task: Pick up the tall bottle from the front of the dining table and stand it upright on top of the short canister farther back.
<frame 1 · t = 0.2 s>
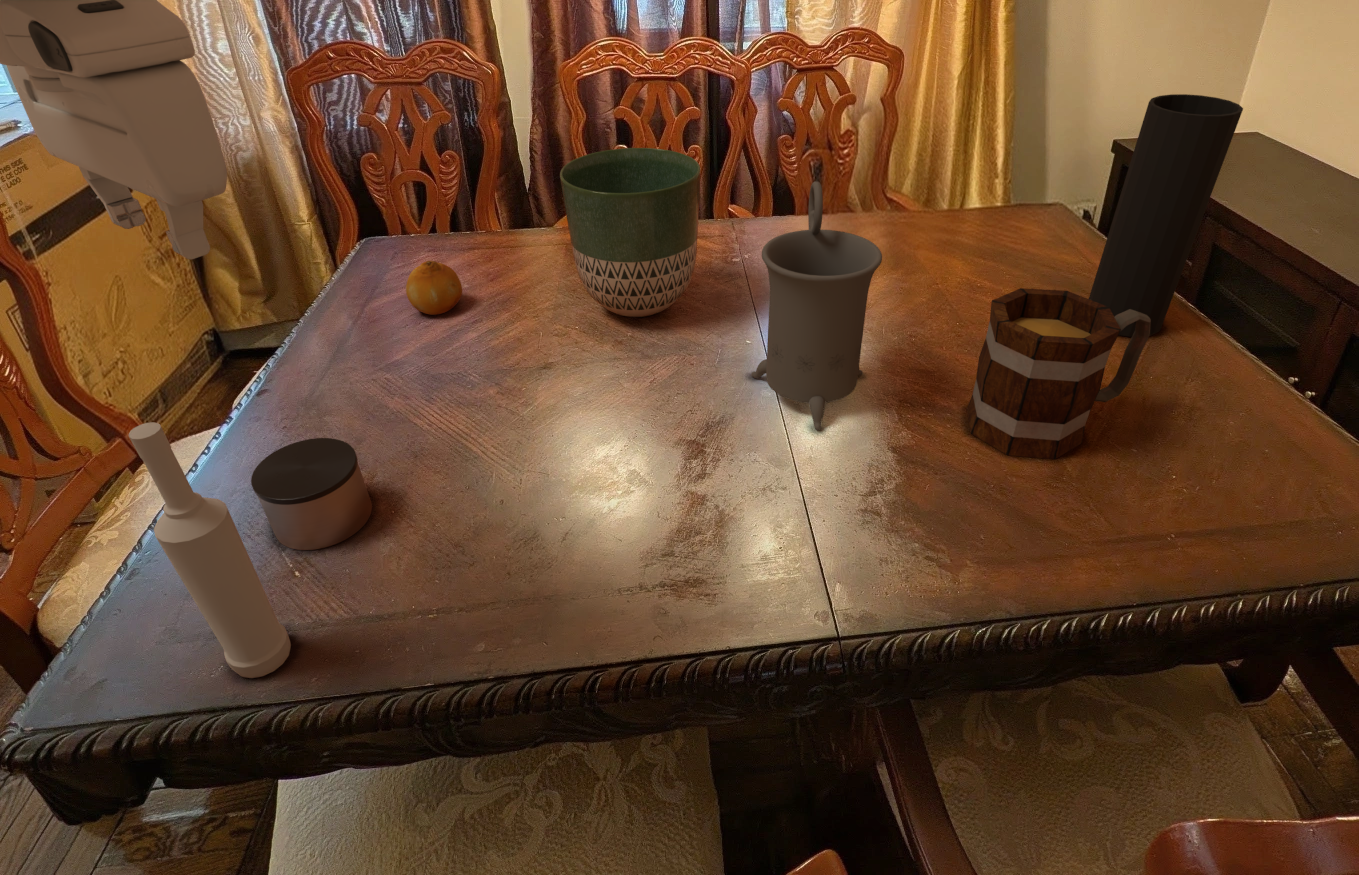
hand: (161, 239, 56), 36 cm above the table, tool pointing down, fingers open, 8 cm apart
fruit: (438, 309, 126), on the table
bottle: (263, 657, 72), on the table
mug: (1045, 423, 97), on the table
canister: (324, 517, 87), on the table
vase: (1121, 321, 117), on the table
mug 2: (809, 390, 104), on the table
planter: (638, 308, 124), on the table
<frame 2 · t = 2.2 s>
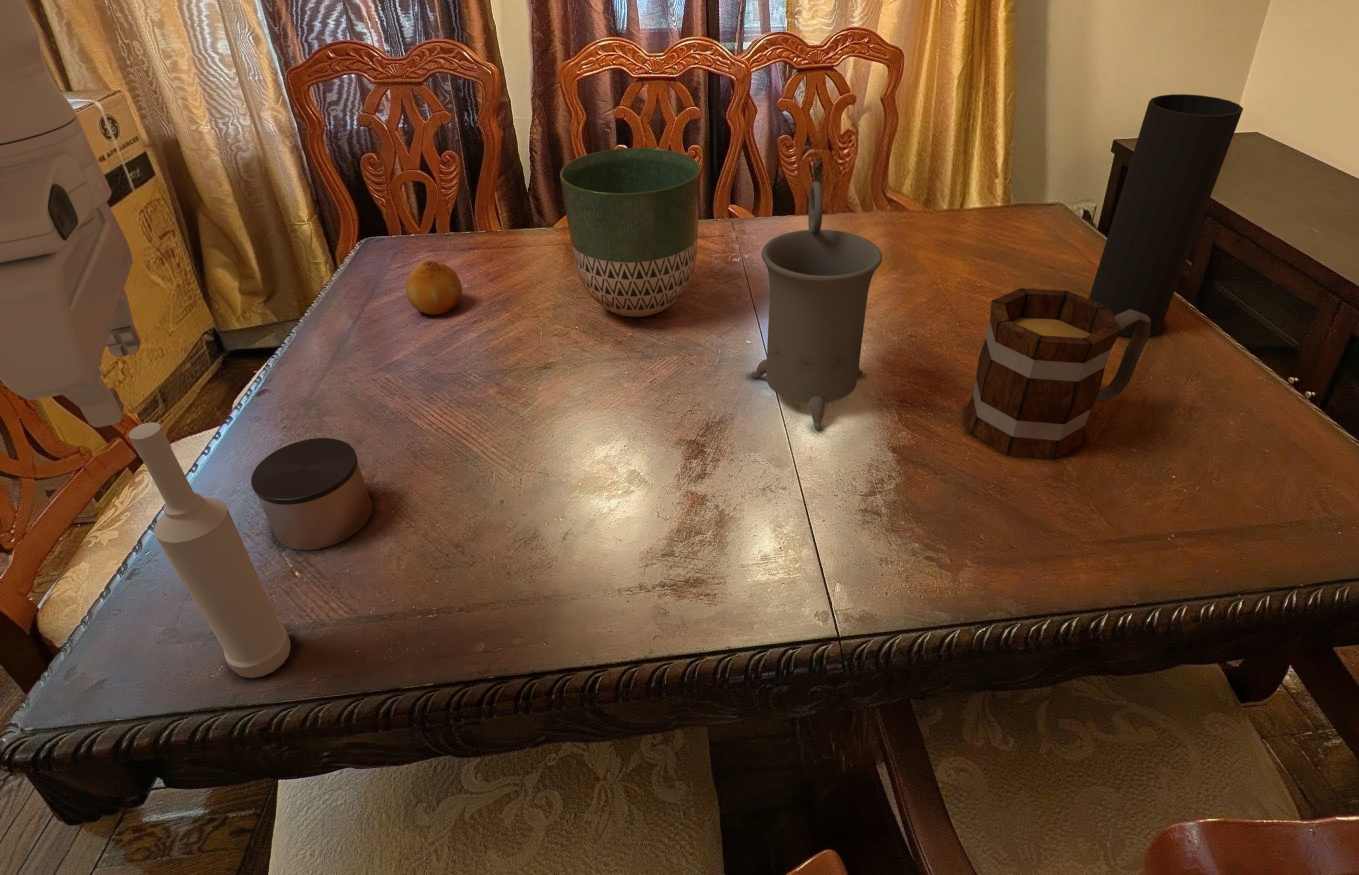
hand: (119, 383, 54), 29 cm above the table, tool pointing down, fingers open, 8 cm apart
nothing on the table moved.
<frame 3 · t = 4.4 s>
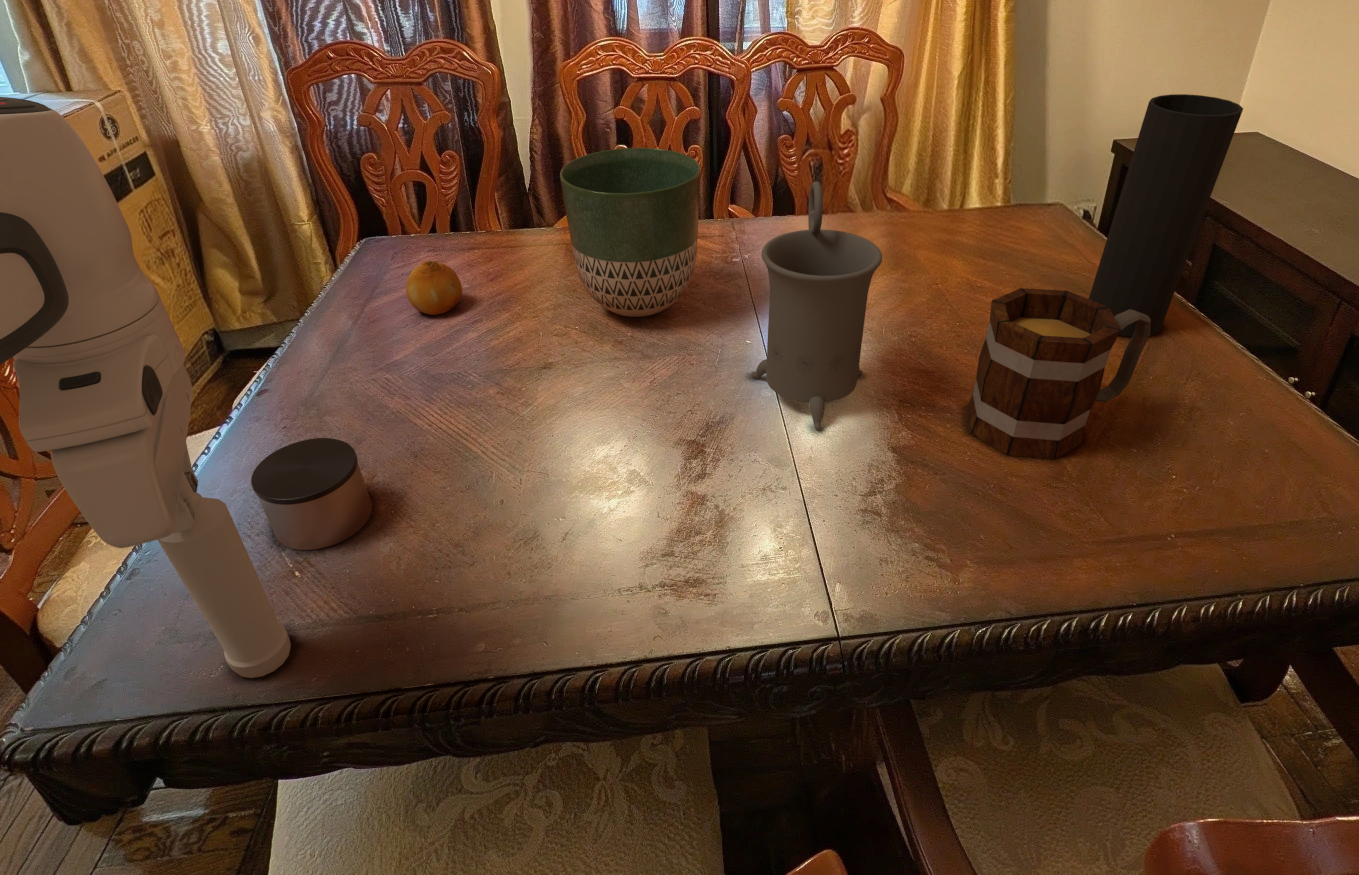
hand: (185, 509, 61), 18 cm above the table, tool pointing down, fingers closed on bottle, 3 cm apart
bottle: (263, 657, 72), on the table, touching gripper
everything else where it was.
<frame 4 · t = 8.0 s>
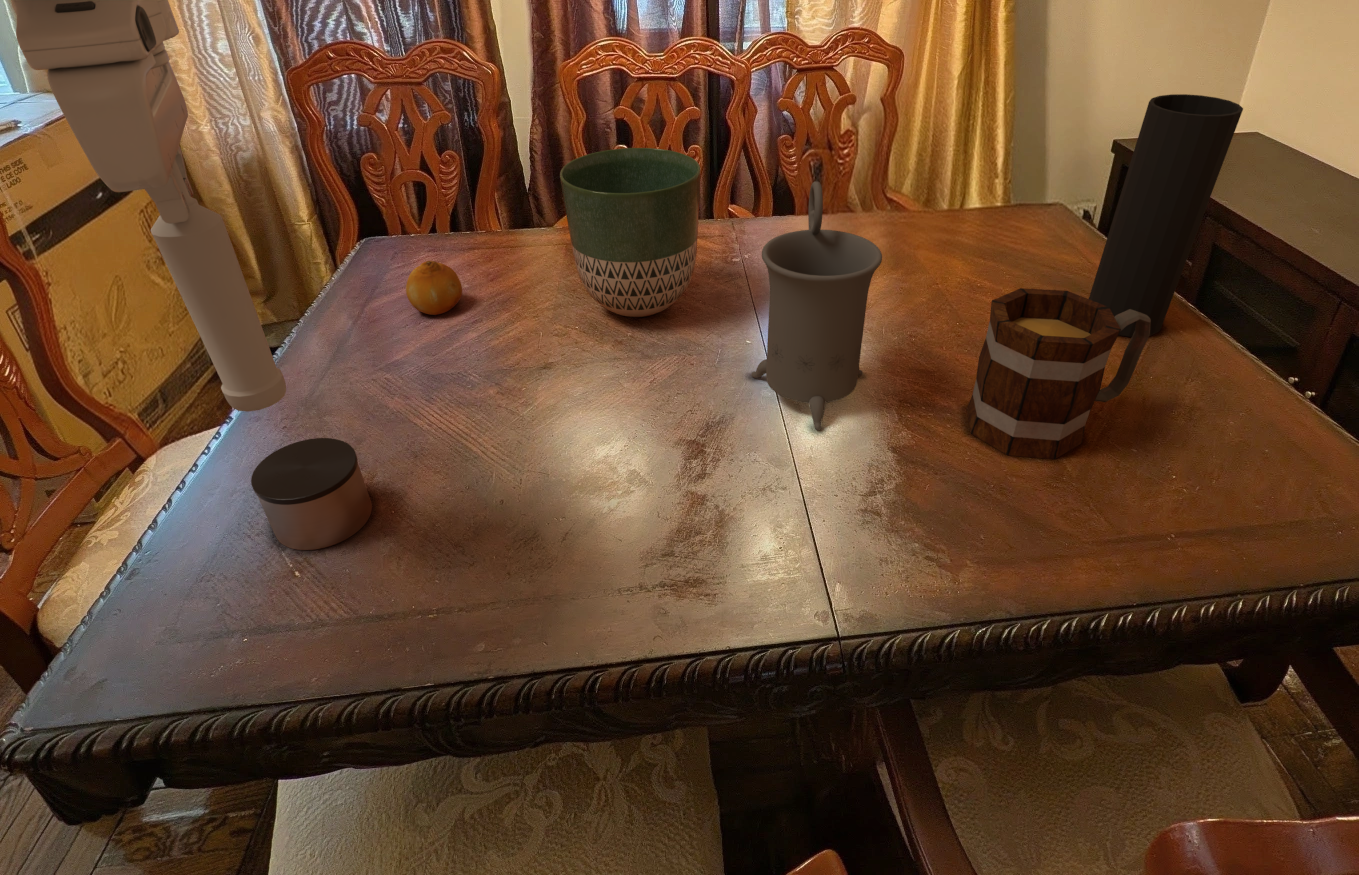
hand: (180, 210, 63), 35 cm above the table, tool pointing down, fingers closed on bottle, 3 cm apart
bottle: (259, 398, 73), point 18 cm above the table, touching gripper
everything else where it was.
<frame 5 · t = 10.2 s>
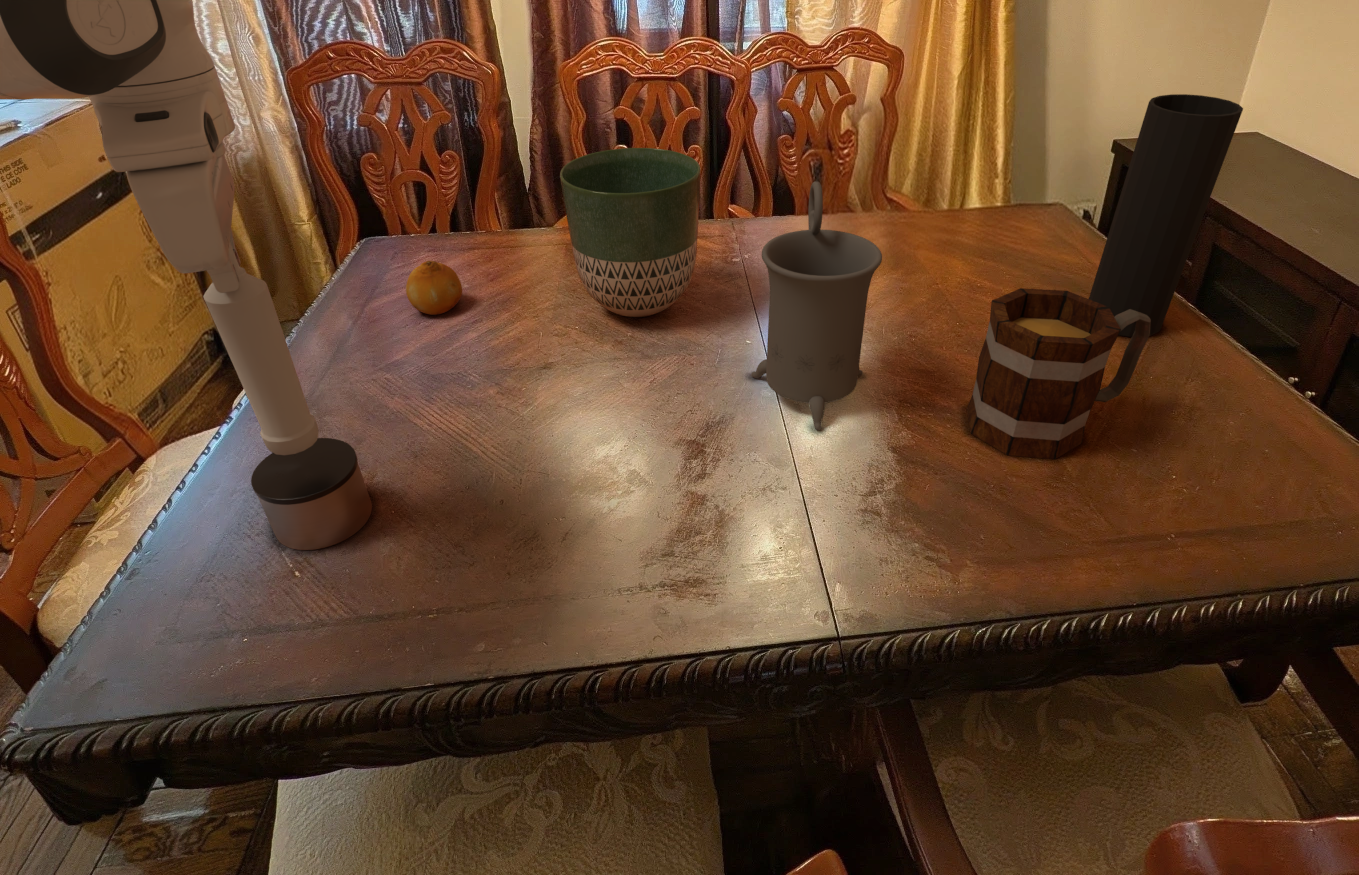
hand: (230, 279, 70), 28 cm above the table, tool pointing down, fingers closed on bottle, 3 cm apart
bottle: (294, 442, 80), point 10 cm above the table, touching gripper
everything else where it was.
when the fingers open (25 cm above the table, at t = 11.5 s): bottle stays where it is, resting on canister.
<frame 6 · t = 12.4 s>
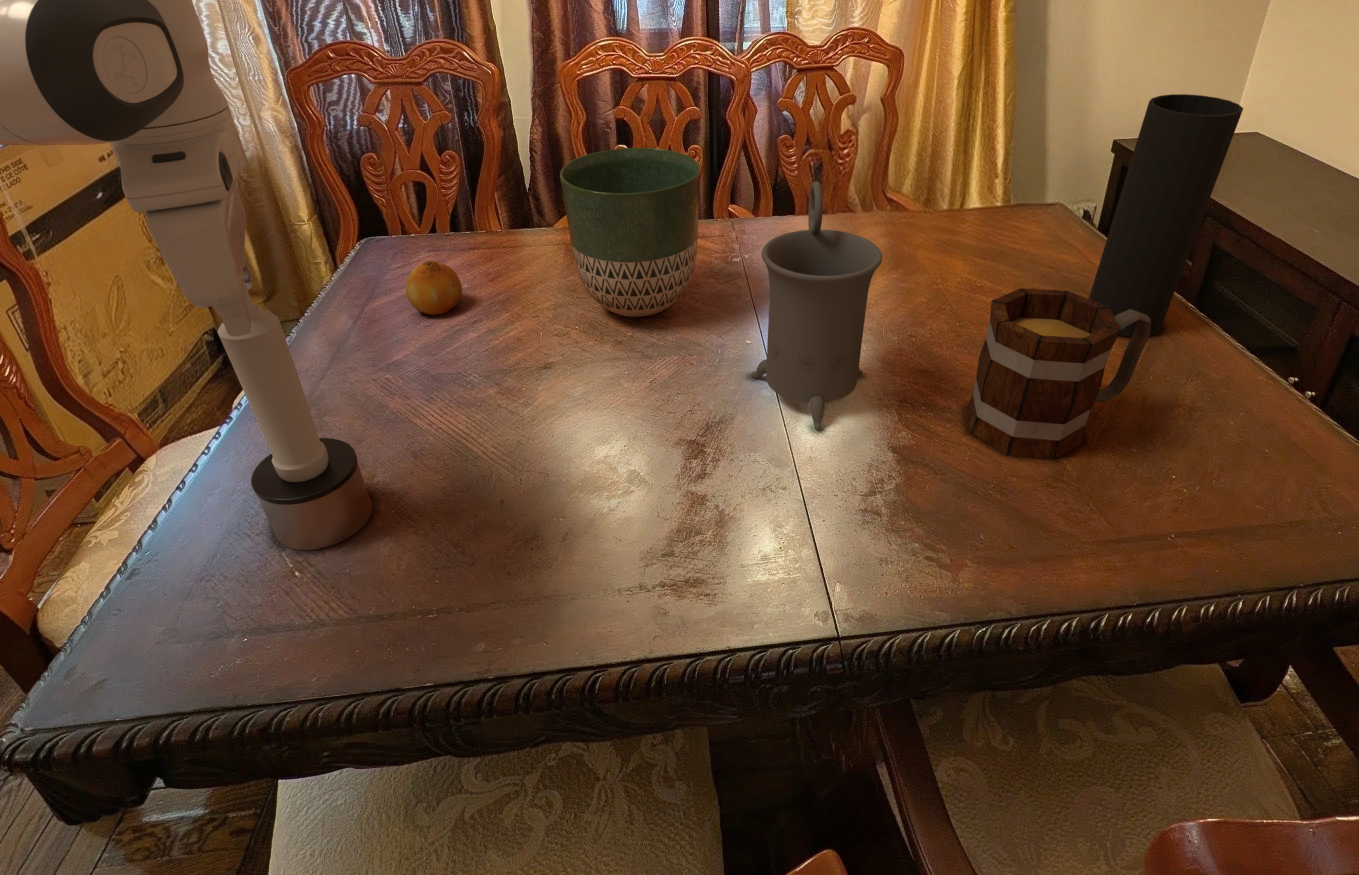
hand: (242, 308, 72), 25 cm above the table, tool pointing down, fingers open, 8 cm apart
bottle: (304, 469, 82), point 7 cm above the table, touching canister
everything else where it was.
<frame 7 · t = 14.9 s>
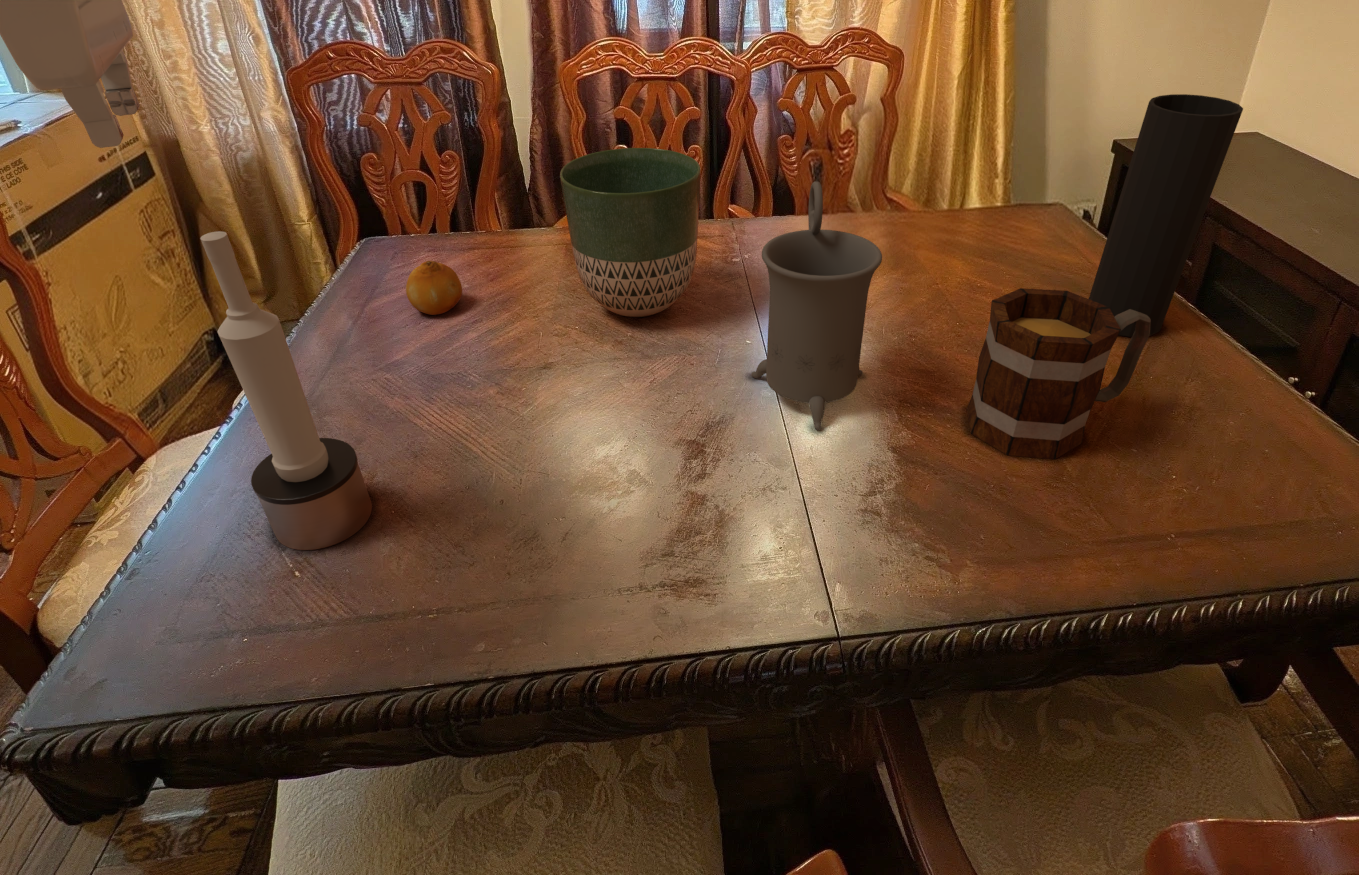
hand: (119, 128, 60), 41 cm above the table, tool pointing down, fingers open, 8 cm apart
nothing on the table moved.
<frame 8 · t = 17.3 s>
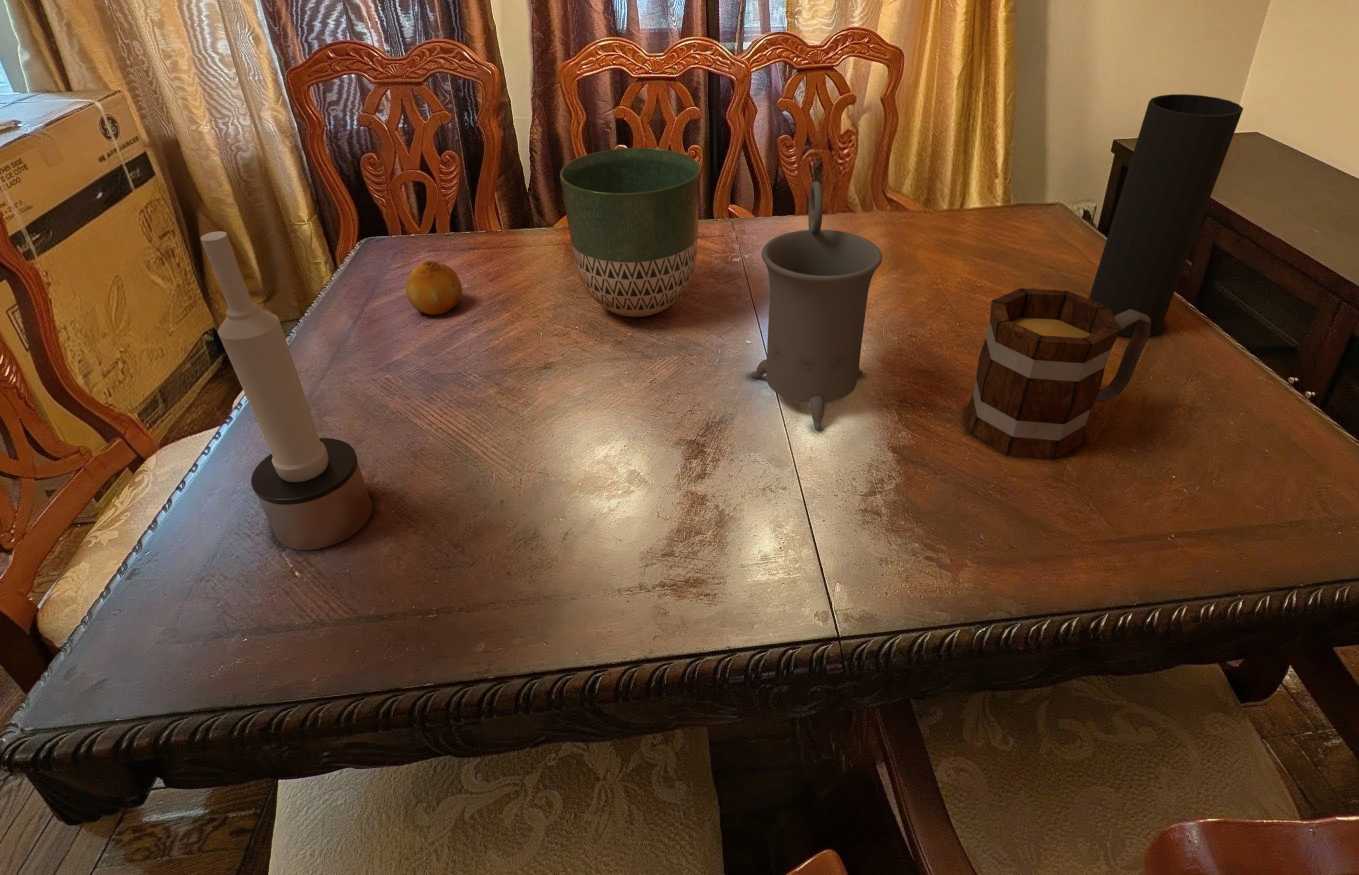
nothing on the table moved.
at the end: bottle 0.1 cm off-centre on the canister, point 6.8 cm above the canister's base; bottle tilted 0°; the gripper is holding nothing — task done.
